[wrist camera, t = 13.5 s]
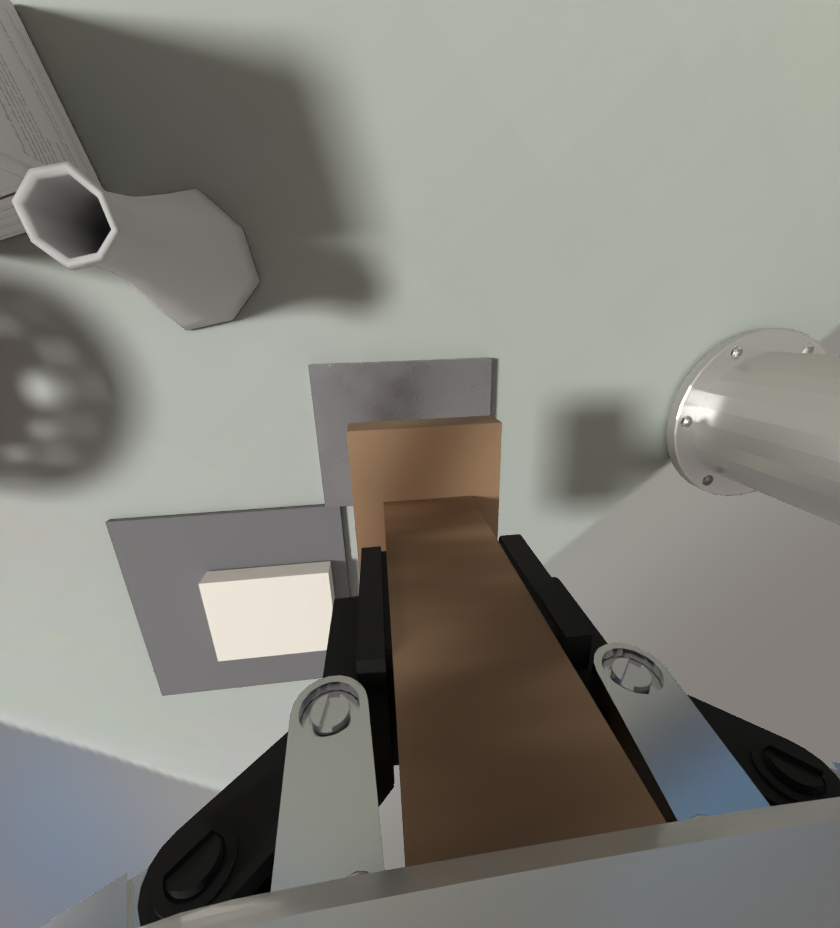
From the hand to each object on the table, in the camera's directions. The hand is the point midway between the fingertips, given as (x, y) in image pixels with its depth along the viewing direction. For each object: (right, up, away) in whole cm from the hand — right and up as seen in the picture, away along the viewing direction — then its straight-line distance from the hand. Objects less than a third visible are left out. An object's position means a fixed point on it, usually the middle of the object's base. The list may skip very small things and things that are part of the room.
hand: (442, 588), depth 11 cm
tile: (-16, -8, +18) cm, 26 cm away
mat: (-14, -7, +20) cm, 25 cm away
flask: (-14, +15, +12) cm, 24 cm away
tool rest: (-2, +6, +17) cm, 18 cm away
